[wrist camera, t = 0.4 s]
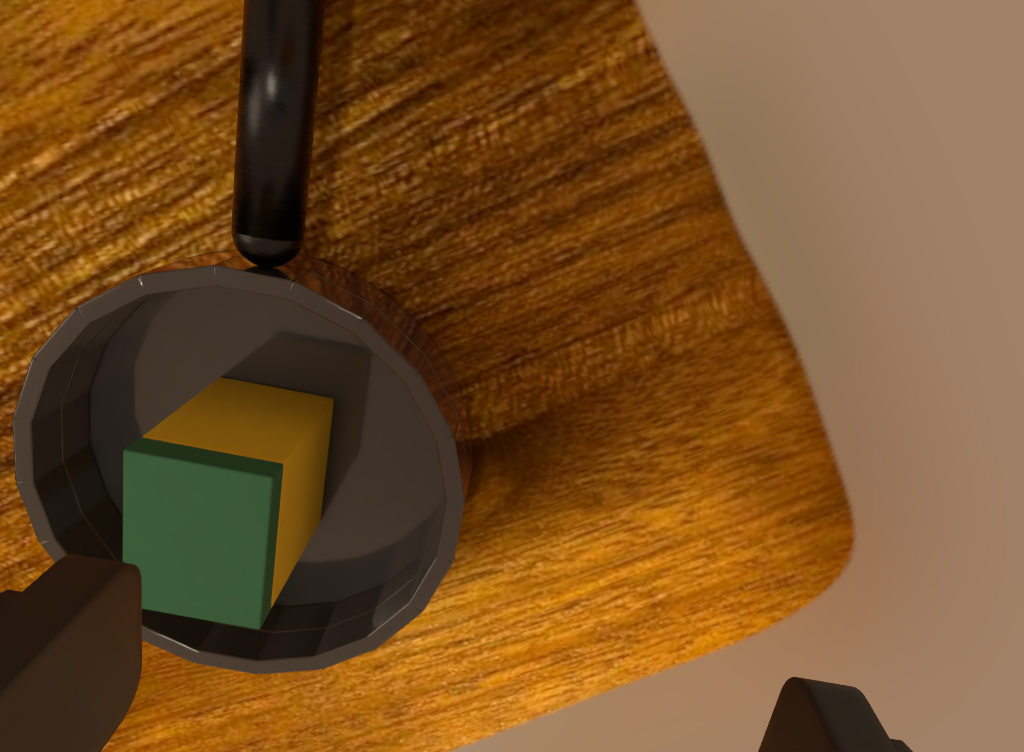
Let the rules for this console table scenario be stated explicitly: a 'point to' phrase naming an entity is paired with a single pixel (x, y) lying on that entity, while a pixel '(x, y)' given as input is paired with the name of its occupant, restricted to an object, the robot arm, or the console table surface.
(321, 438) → the sponge
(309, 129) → the skillet handle
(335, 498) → the skillet
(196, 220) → the console table surface
